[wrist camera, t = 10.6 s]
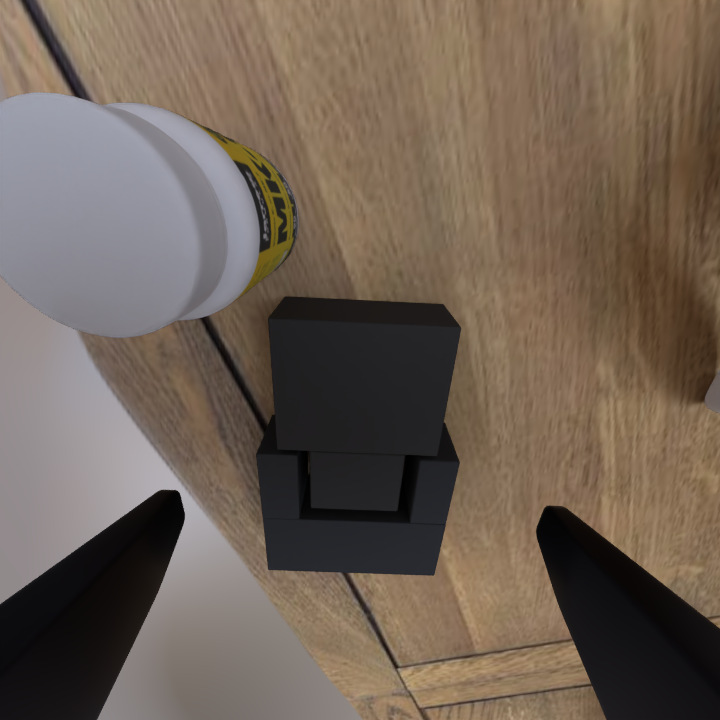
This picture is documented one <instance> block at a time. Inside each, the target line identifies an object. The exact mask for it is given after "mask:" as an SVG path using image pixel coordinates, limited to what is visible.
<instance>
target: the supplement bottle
mask: <svg viewBox="0 0 720 720" xmlns="http://www.w3.org/2000/svg"><path fill="white" fill-rule="evenodd" d="M298 226H299V216H298V208H297V204H296V200H295V197H294V194H293V192H292V190H291V187H290V186H289V184H288V182H287V180H286V179H285V177H284V176H283V175H282V173H281V172H280V171H279V170H278V169H277V168H276V167H275V166H274V165H273V164H272V163H271V162H270V161H269V160H268V159H266V158H265V157H264V156H262V155H261V154H259V153H257V152H256V151H254V150H252V149H250V148H248V147H245V146H243V145H241V144H239V143H237V142H235V141H234V140H232V139H229V138H227V137H225V136H223V135H221V134H219V133H217V132H215V131H213V130H211V129H209V128H207V127H204V126H201V125H199V124H198V123H196V122H194V121H192V120H189V119H187V118H185V117H183V116H181V115H179V114H177V113H174V112H172V111H169V110H166V109H163V108H159V107H155V106H151V105H146V104H140V103H112V104H107V105H100V104H97V103H93V102H90V101H87V100H84V99H80V98H77V97H74V96H69V95H63V94H58V93H27V94H22V95H17V96H13V97H10V98H7V99H5V100H3V101H1V102H0V276H1V277H2V278H3V279H4V280H5V281H6V283H7V284H8V285H9V286H10V287H11V288H12V289H14V290H15V291H16V292H17V293H18V294H19V295H20V296H21V297H22V298H23V299H25V300H26V301H27V302H28V303H30V304H31V305H32V306H34V307H35V308H36V309H38V310H39V311H41V312H42V313H44V314H45V315H47V316H49V317H50V318H52V319H54V320H56V321H58V322H60V323H62V324H64V325H66V326H69V327H71V328H73V329H76V330H79V331H82V332H85V333H89V334H94V335H98V336H104V337H114V338H127V337H136V336H141V335H145V334H149V333H152V332H154V331H157V330H159V329H161V328H163V327H165V326H167V325H169V324H171V323H172V322H174V321H176V320H192V319H197V318H202V317H205V316H209V315H211V314H214V313H216V312H218V311H220V310H222V309H224V308H225V307H227V306H228V305H230V304H231V303H232V302H234V301H235V300H237V299H238V298H239V297H240V296H242V295H243V294H244V293H246V292H247V291H248V290H249V289H251V288H252V287H253V286H254V285H256V284H257V283H258V282H260V281H261V280H262V279H264V278H265V277H266V276H267V275H269V274H270V273H271V272H273V271H274V270H276V269H277V268H278V267H279V266H280V265H281V264H282V263H283V262H284V261H285V260H286V259H287V257H288V256H289V254H290V252H291V251H292V249H293V247H294V244H295V242H296V238H297V234H298Z"/></svg>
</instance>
